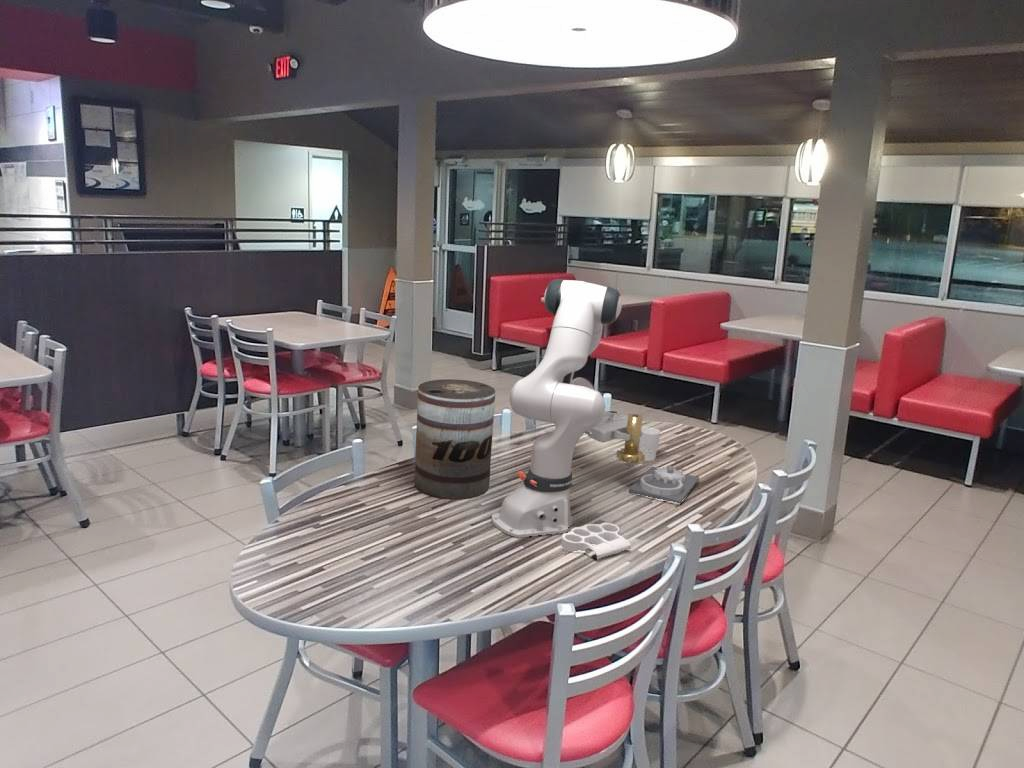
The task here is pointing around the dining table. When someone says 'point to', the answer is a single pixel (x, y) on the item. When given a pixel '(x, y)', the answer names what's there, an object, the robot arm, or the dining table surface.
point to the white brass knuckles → (595, 539)
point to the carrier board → (664, 484)
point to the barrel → (454, 438)
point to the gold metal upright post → (632, 441)
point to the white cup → (649, 442)
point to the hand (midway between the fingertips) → (635, 436)
